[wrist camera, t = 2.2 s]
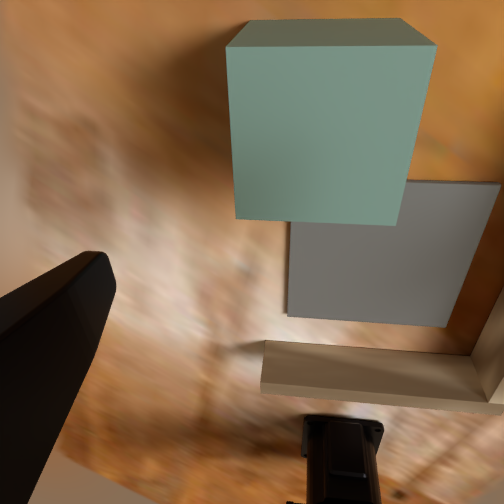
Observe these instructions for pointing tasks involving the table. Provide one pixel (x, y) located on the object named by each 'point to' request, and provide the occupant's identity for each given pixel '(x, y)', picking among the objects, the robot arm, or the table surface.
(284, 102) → the cube
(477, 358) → the wall side
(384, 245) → the mat
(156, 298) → the table surface
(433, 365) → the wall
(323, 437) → the robot arm
